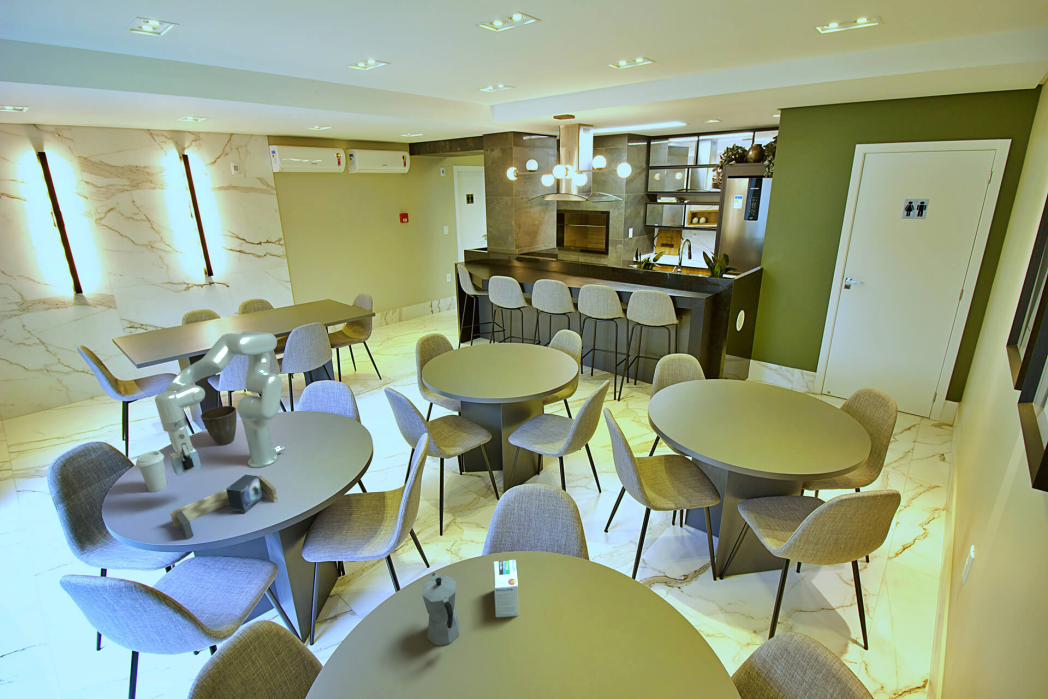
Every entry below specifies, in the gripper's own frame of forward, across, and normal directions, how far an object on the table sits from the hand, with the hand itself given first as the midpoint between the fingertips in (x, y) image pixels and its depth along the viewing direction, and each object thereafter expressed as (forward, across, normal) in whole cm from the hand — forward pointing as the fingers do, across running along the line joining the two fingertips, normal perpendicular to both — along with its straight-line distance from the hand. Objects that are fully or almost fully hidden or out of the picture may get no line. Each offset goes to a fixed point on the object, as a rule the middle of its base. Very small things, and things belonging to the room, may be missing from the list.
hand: (186, 465), depth 193 cm
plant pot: (+18, +47, -26) cm, 56 cm away
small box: (+17, -18, -12) cm, 28 cm away
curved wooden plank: (+17, -17, -6) cm, 25 cm away
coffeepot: (+17, -123, -26) cm, 127 cm away
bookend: (+17, -18, +8) cm, 26 cm away
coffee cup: (+17, +25, +8) cm, 31 cm away
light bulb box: (+17, -128, -44) cm, 137 cm away
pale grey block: (+2, 0, 0) cm, 2 cm away
